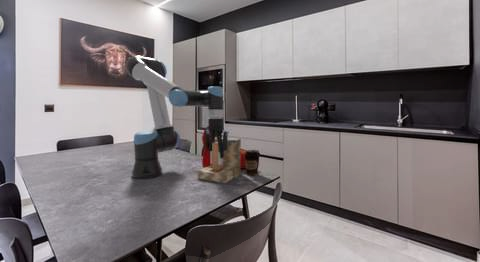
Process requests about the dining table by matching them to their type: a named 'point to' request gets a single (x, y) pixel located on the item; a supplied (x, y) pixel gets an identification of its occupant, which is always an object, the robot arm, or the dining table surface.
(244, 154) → the tomato
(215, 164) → the peg
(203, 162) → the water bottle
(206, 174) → the socket awning
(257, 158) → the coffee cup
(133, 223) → the dining table surface
